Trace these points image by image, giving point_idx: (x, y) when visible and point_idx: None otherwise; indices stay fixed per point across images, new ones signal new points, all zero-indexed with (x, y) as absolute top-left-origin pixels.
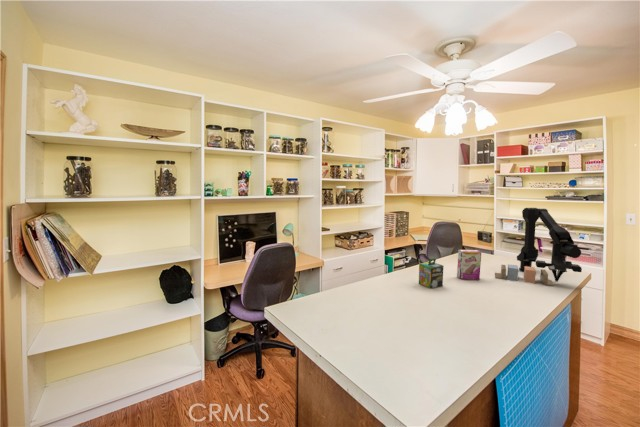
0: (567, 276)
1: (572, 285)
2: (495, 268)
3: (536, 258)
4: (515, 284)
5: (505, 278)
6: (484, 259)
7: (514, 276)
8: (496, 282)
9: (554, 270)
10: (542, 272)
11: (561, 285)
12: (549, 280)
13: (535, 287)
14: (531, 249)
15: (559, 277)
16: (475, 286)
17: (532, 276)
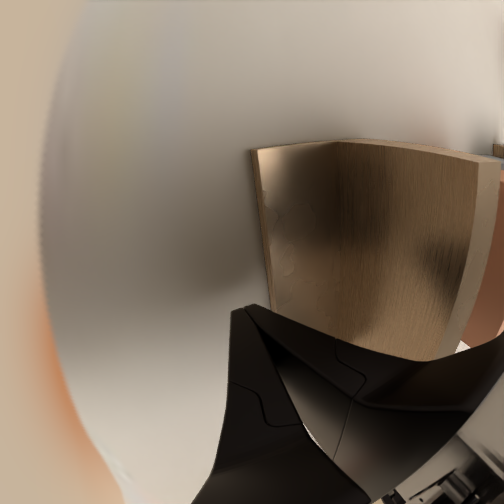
0: (187, 489)
1: (81, 368)
2: None
3: (385, 497)
4: (467, 58)
5: (499, 145)
6: None
7: (502, 161)
8: (497, 69)
9: (486, 366)
10: (479, 275)
11: (168, 280)
12: None
13: (397, 16)
14: (470, 502)
15: (235, 361)
16: (494, 4)
17: None
